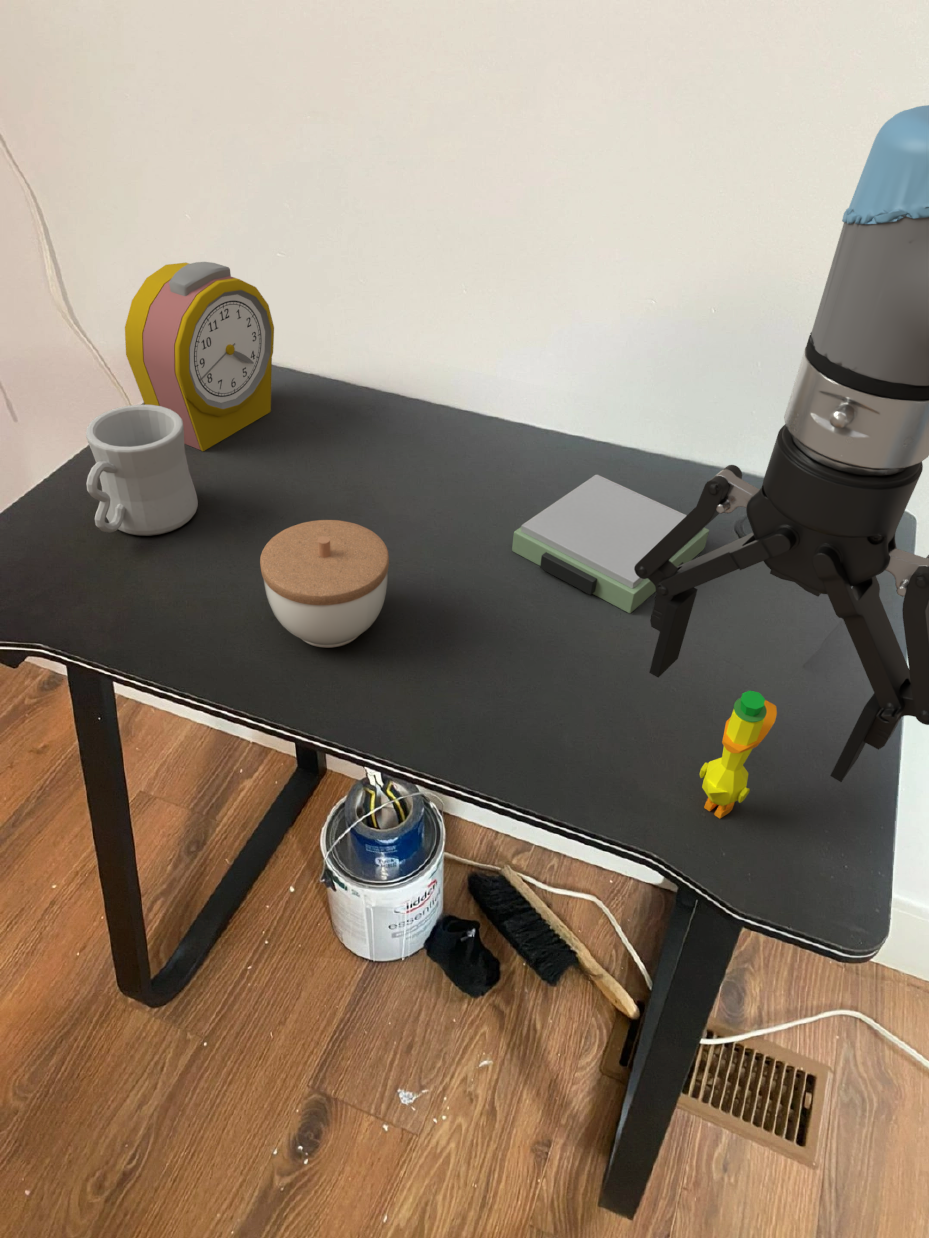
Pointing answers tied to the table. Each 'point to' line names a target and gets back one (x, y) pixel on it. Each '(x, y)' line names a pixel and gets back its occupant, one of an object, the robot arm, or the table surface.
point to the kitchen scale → (602, 540)
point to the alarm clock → (202, 349)
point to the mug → (140, 470)
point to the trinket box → (325, 580)
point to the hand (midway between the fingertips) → (749, 714)
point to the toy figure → (737, 752)
